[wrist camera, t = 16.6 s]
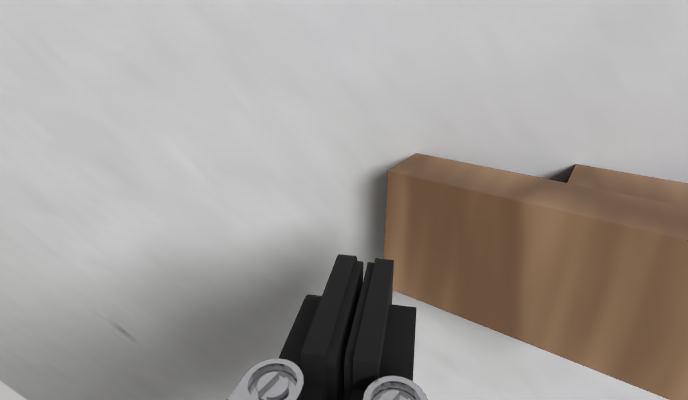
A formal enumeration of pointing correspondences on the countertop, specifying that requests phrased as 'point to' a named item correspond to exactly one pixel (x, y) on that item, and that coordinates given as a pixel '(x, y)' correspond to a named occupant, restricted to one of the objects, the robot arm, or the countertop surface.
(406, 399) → the robot arm
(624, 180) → the domino
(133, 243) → the countertop surface
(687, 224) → the domino
